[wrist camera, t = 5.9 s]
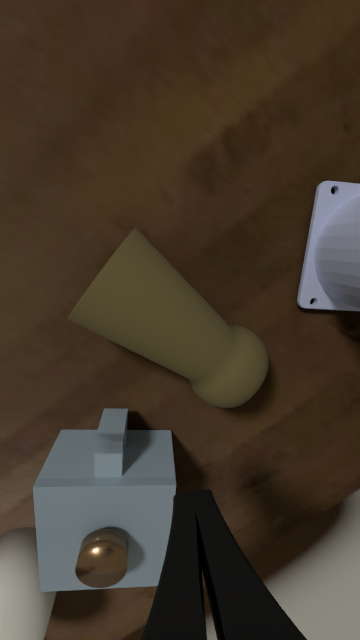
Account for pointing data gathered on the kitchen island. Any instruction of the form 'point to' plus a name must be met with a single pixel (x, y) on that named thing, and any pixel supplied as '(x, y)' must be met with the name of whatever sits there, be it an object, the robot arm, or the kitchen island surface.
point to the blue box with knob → (105, 499)
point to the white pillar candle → (22, 588)
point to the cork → (171, 325)
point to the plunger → (102, 558)
